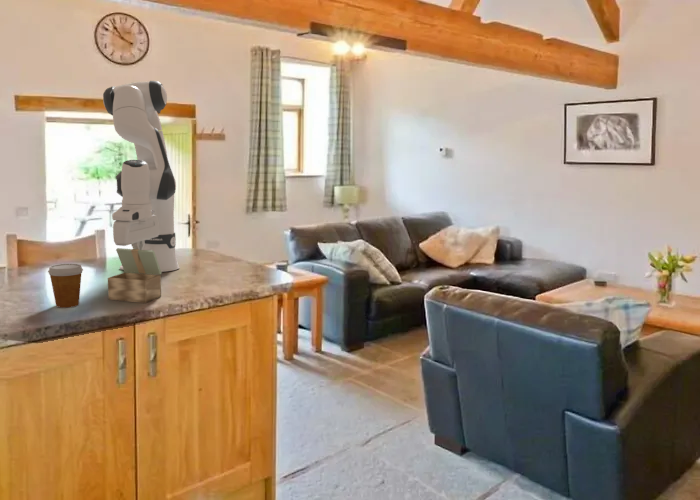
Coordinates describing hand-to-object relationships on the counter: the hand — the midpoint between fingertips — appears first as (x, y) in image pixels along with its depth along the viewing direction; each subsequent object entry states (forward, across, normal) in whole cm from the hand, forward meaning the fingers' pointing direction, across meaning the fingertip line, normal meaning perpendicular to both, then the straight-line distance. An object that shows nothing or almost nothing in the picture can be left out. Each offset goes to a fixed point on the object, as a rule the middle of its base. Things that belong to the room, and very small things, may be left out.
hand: (138, 255), depth 198 cm
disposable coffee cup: (+13, +18, -13) cm, 26 cm away
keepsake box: (+13, +4, +1) cm, 14 cm away
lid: (+2, +1, 0) cm, 2 cm away
